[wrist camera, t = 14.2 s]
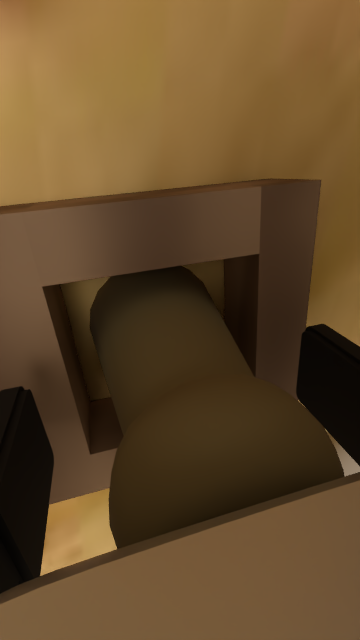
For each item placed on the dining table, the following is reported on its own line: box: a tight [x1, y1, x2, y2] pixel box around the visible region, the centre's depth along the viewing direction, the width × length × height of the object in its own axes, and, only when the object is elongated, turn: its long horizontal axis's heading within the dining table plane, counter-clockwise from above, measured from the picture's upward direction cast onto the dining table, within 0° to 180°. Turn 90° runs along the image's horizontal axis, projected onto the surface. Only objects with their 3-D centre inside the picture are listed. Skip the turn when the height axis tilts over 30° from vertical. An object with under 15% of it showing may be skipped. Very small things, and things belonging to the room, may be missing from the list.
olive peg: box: [90, 266, 344, 549], centre depth 11 cm, size 6×6×11 cm
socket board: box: [0, 179, 321, 504], centre depth 13 cm, size 22×12×4 cm, turn 95°
